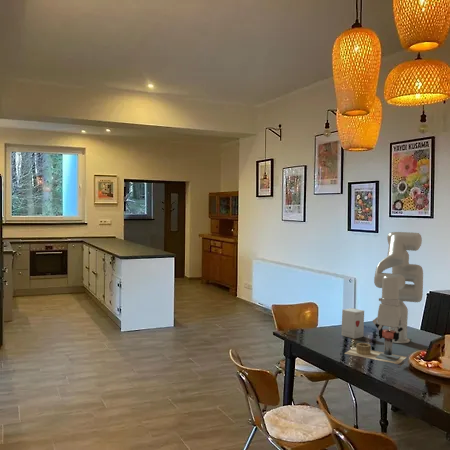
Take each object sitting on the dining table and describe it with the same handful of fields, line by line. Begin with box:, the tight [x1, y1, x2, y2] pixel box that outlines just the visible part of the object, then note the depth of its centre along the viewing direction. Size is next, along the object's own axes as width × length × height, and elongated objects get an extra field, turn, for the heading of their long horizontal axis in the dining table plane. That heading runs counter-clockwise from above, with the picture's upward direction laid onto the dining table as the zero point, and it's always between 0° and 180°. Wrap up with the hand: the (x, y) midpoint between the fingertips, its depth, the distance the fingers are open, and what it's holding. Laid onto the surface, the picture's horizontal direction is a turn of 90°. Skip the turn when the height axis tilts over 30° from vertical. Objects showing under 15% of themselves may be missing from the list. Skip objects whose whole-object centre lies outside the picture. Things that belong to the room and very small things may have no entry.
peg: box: [381, 328, 396, 355], centre depth 234 cm, size 6×6×11 cm
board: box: [344, 342, 408, 368], centre depth 238 cm, size 14×26×6 cm, turn 55°
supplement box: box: [341, 307, 365, 340], centre depth 279 cm, size 9×9×15 cm
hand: (388, 339), depth 234 cm, fingers closed on peg, 6 cm apart
